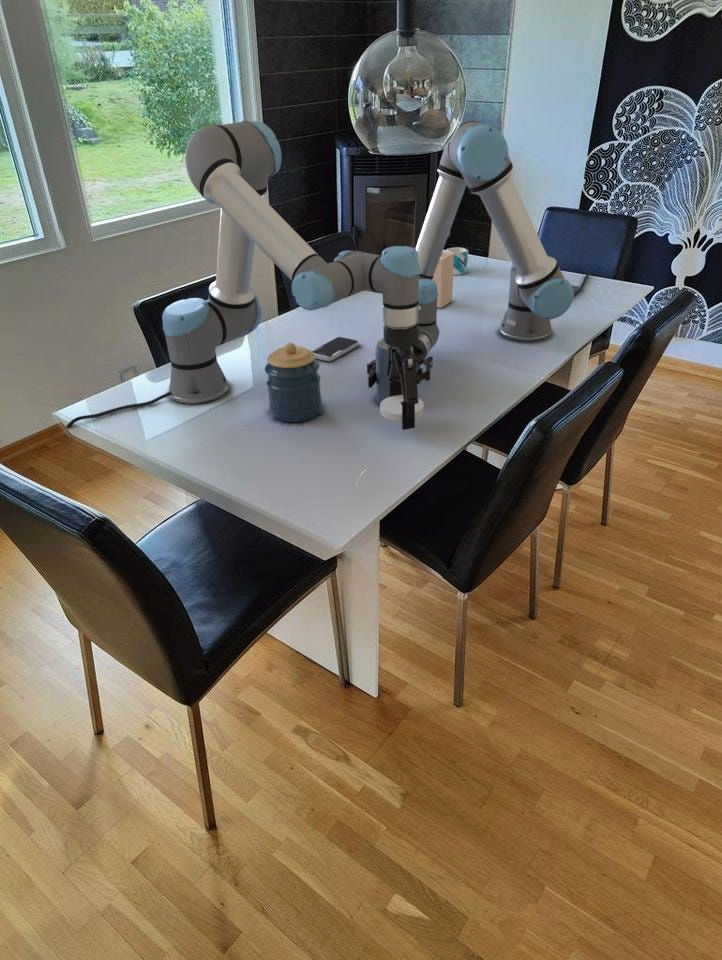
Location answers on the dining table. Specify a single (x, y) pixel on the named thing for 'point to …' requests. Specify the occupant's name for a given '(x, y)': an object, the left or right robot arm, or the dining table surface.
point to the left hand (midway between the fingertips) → (401, 417)
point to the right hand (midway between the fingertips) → (389, 384)
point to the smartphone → (334, 348)
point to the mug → (459, 260)
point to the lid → (398, 408)
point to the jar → (382, 371)
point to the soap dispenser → (444, 278)
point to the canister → (293, 384)
